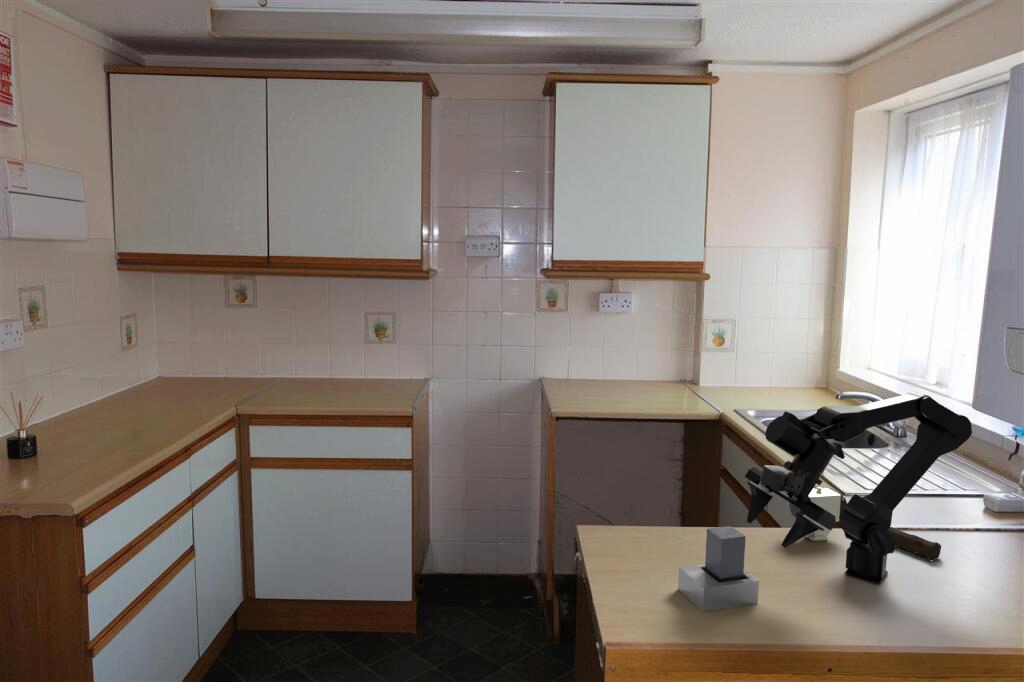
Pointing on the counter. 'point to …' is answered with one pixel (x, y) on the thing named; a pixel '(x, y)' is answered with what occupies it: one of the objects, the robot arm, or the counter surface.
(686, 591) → the block with rectangular hole
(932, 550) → the hand tool
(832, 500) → the pneumatic valve
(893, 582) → the counter surface
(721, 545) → the peg
